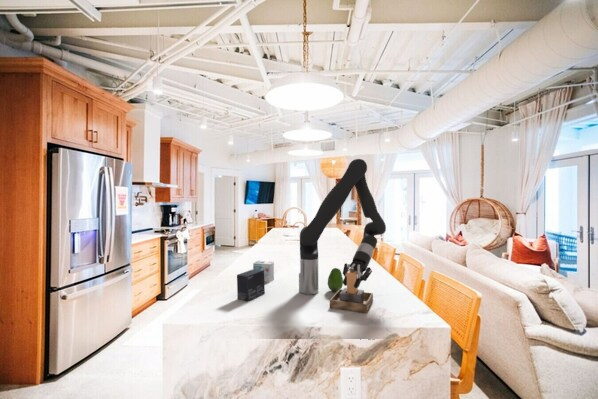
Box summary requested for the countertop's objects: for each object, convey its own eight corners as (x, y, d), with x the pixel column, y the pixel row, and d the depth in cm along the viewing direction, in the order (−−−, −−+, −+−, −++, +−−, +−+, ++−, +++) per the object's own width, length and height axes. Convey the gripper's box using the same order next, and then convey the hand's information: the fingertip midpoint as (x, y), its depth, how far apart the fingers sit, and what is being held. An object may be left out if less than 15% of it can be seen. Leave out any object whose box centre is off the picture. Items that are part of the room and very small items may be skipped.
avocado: (342, 294, 146) (342, 270, 146) (327, 293, 147) (326, 269, 147) (343, 289, 154) (343, 266, 154) (328, 288, 155) (328, 265, 155)
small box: (254, 291, 151) (254, 268, 151) (265, 293, 147) (264, 270, 147) (236, 299, 140) (236, 274, 139) (247, 302, 136) (247, 276, 136)
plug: (346, 295, 131) (346, 269, 131) (349, 292, 135) (348, 267, 135) (355, 296, 129) (355, 269, 129) (357, 293, 133) (357, 267, 133)
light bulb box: (252, 281, 169) (252, 262, 169) (257, 278, 175) (257, 260, 175) (270, 282, 166) (269, 263, 166) (274, 279, 172) (274, 261, 172)
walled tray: (329, 307, 128) (329, 295, 128) (339, 296, 142) (339, 284, 142) (366, 313, 122) (366, 299, 121) (372, 300, 136) (372, 288, 136)
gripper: (347, 248, 142) (333, 278, 133) (374, 251, 132) (360, 284, 124) (353, 257, 146) (340, 287, 137) (380, 261, 136) (367, 293, 128)
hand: (350, 285), depth 131 cm, fingers closed on plug, 5 cm apart
